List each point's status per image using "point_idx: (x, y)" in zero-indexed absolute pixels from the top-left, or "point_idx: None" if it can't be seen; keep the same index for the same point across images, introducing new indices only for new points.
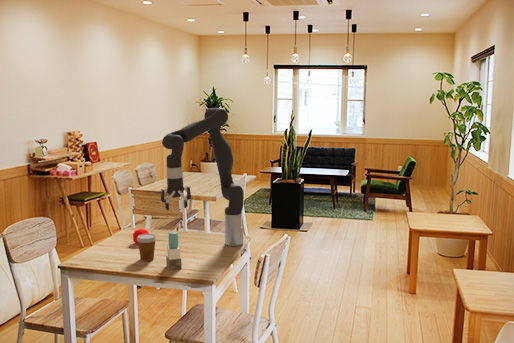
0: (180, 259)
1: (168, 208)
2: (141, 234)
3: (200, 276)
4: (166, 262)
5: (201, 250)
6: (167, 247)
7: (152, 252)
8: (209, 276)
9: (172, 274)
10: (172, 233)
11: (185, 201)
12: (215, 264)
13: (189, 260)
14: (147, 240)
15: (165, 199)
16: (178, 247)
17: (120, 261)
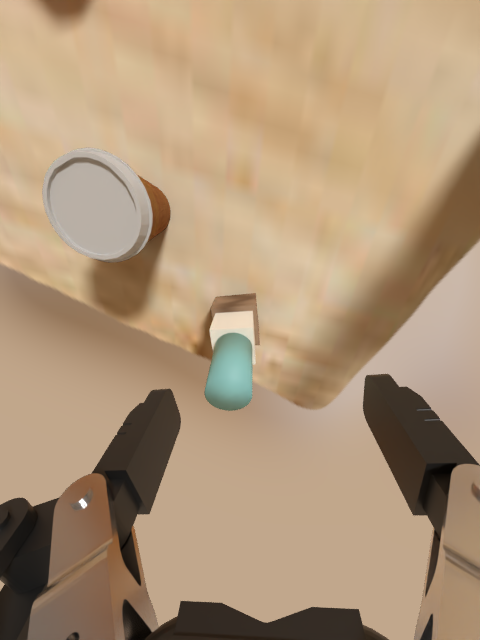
0: (256, 344)
1: (168, 442)
2: (54, 162)
3: (298, 390)
4: (214, 301)
5: (377, 142)
6: (210, 333)
7: (157, 233)
8: (320, 395)
9: None
10: (224, 395)
11: (423, 506)
12: (367, 320)
13: (296, 262)
14: (112, 259)
15: (56, 535)
16: (252, 351)
17: None
